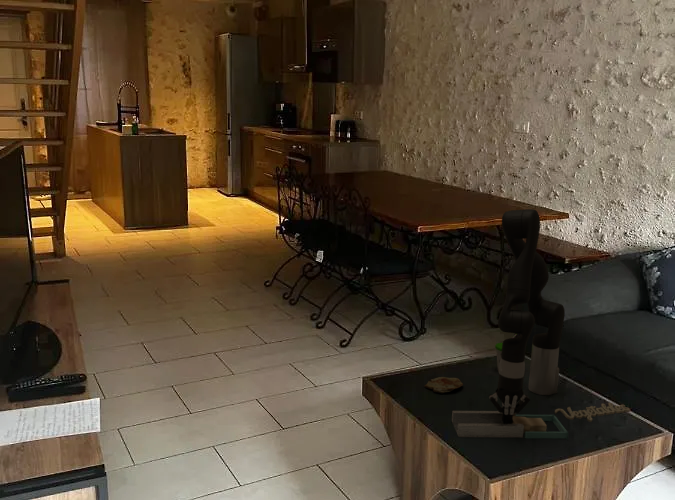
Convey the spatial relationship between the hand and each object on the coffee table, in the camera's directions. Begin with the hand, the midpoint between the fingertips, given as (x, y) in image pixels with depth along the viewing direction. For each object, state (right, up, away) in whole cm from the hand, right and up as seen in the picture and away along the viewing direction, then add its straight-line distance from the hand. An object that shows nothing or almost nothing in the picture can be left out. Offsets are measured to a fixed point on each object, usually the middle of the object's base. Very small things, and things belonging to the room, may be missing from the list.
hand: (506, 424), depth 205 cm
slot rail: (-6, -2, 0) cm, 7 cm away
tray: (+11, -3, +1) cm, 11 cm away
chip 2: (+9, -2, +1) cm, 9 cm away
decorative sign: (+33, -1, +14) cm, 36 cm away
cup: (+11, +8, +48) cm, 50 cm away
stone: (-15, +4, +31) cm, 35 cm away
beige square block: (+4, -2, 0) cm, 4 cm away
